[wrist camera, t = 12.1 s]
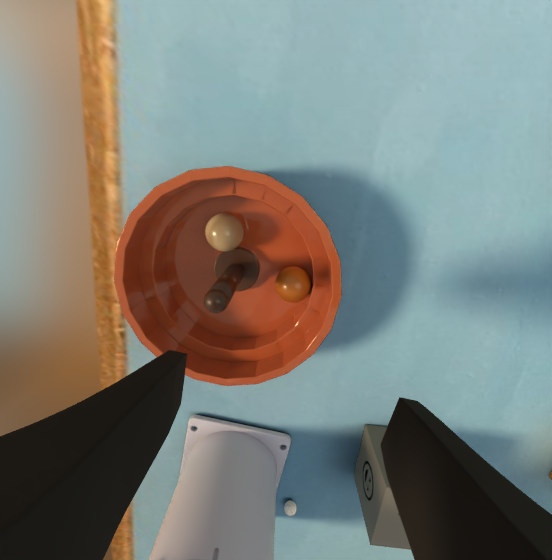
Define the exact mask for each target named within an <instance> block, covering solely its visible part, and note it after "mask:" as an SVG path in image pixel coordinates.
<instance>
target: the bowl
mask: <svg viewBox="0 0 552 560" xmlns="http://www.w3.org/2000/svg"><path fill="white" fill-rule="evenodd" d="M221 213H227V214H231V215H233V216H235V217H236V218H237V219H238V220H239V221H240V222H241V224H242V226H243V230H244V236H243V240H242V242H241V243H240V245H239V246H238V247H243V248H246V249H248V250H250V251H251V252H252V253H253V254H254V255H255V256H256V258H257V260H258V262H259V266H260V272H259V276H258V279H257V281H256V282H255V284H254V285H253V286H252V287H250V288H249V289H247V290H244V291H235V293H234V295H233V297H232V299H231V301H230V302H229V304H228V306H227V308H226V309H225V310H224V311H222V312H220V313H212V312H210V311H209V310H207V309H206V307H205V305H204V297H205V295H206V293H207V292H208V291H209V289H210V288H211V287H212V286H213V285H214V283H215V282H216V281H217V278H216V276H215V271H214V266H215V262H216V260H217V258H218V256H219V255H220V254H221V253H222V252H223V251H219V250H216V249H215V248H213V247H212V246H211V245H210V244H209V243H208V241H207V239H206V235H205V229H206V225H207V223H208V221H209V220H210V219H211V218H212V217H213V216H215V215H217V214H221ZM287 267H299V268H301V269H303V270H305V271H306V272H307V273H308V275H309V277H310V279H311V290H310V293H309V294H308V296H307V297H306V298H305V299H303V300H302V301H300V302H296V303H291V302H287V301H285V300H283V299H282V298H281V297H280V296H279V295H278V294H277V292H276V288H275V281H276V278H277V276H278V274H279V273H280V272H281V271H282V270H283V269H285V268H287ZM114 282H115V286H116V290H117V294H118V297H119V301H120V305H121V309H122V312H123V315H124V316H125V318H126V320H127V321H128V323H129V324H130V326H131V328H132V329H133V331H134V333H135V334H136V336H137V337H138V339H139V341H141V343H142V344H143V345H144V346H145V347H147V348H148V349H149V350H150V351H151V352H152V353H153V354H154V355H155V356H156V357H158V356H160V355H162V354H163V353H165V352H167V351H168V350H173V351H178V352H182V353H187V362H186V369H185V375H187V376H189V377H191V378H193V379H196V380H200V381H205V382H210V383H214V384H219V385H224V386H225V385H226V386H232V385H250V384H259V383H262V382H265V381H267V380H270V379H273V378H276V377H279V376H282V375H285V374H287V373H289V372H290V371H291V370H293V369H294V368H295V367H297V366H298V365H300V364H301V363H302V362H304V361H305V360H306V359H308V358H309V357H310V356H312V355H313V354H314V353H315V351H316V350H317V348H318V347H319V346H320V344H321V343H322V341H323V340H324V339H325V337H326V336H327V334H328V333H329V332H330V330H331V328H332V326H333V323H334V320H335V317H336V313H337V310H338V307H339V304H340V300H341V296H342V290H341V262H340V258H339V256H338V253H337V251H336V248H335V245H334V243H333V240H332V237H331V235H330V232H329V230H328V227H327V225H326V224H325V223H324V222H323V221H322V219H321V218H320V217H319V216H318V215H317V213H316V212H315V211H314V210H313V209H312V207H311V206H310V205H309V204H308V202H307V201H306V200H305V199H304V198H303V197H302V196H301V195H299V194H298V193H296V192H295V191H293V190H291V189H290V188H288V187H287V186H285V185H283V184H282V183H280V182H279V181H277V180H275V179H274V178H272V177H271V176H268V175H266V174H261V173H257V172H253V171H249V170H244V169H240V168H236V167H232V166H223V167H214V168H204V169H195V170H190V171H187V172H185V173H183V174H181V175H179V176H176V177H174V178H172V179H170V180H168V181H166V182H164V183H162V184H160V185H158V186H156V187H155V188H154V189H153V190H152V191H151V192H150V193H149V194H148V195H147V196H146V197H145V198H144V199H143V200H142V201H141V202H140V203H139V204H138V206H137V207H136V208H135V209H134V210H133V211H132V212H131V214H130V215H129V217H128V220H127V222H126V224H125V227H124V229H123V231H122V234H121V236H120V238H119V241H118V243H117V246H116V258H115V273H114Z"/></svg>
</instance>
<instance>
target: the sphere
mask: <svg viewBox="0 0 552 560" xmlns="http://www.w3.org/2000/svg"><path fill="white" fill-rule="evenodd" d="M296 509H297V507H296V504H295V503H294V502H293V501H291V500H290V501H287V502H286V503H285V506H284V510H285V513H286V514H287V515H289V516H292V515H294V514H295V513H296Z"/></svg>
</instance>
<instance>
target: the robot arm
mask: <svg viewBox="0 0 552 560" xmlns="http://www.w3.org/2000/svg"><path fill="white" fill-rule="evenodd" d="M186 362H187V353H182V352H178V351H173V350H168V351H167V352H165V353H163V354H162V355H160V356H158V357H157V358H155V359H154V360H152V361H150V362H149V363H147V364H146V365H144V366H143V367H141V368H139V369H138V370H136V371H135V372H133V373H131V374H130V375H128V376H126V377H125V378H123V379H121V380H120V381H118V382H116V383H114V384H113V385H111V386H109V387H107V388H105V389H103V390H102V391H100V392H98V393H96V394H94V395H93V396H91V397H89V398H87V399H85V400H83V401H81V402H79V403H77V404H75V405H73V406H71V407H69V408H67V409H65V410H63V411H60V412H58V413H56V414H54V415H52V416H49V417H48V418H45V419H43V420H40V421H38V422H36V423H33V424H31V425H29V426H26V427H24V428H21V429H18V430H16V431H13V432H11V433H8V434H5V435H3V436H0V560H103V558H104V556H105V554H106V552H107V550H108V547H109V545H110V543H111V541H112V539H113V536H114V534H115V532H116V530H117V528H118V526H119V524H120V522H121V520H122V518H123V516H124V514H125V512H126V510H127V508H128V506H129V504H130V502H131V501H132V499H133V497H134V495H135V493H136V492H137V490H138V488H139V486H140V484H141V483H142V481H143V479H144V477H145V475H146V474H147V472H148V470H149V468H150V466H151V465H152V463H153V461H154V459H155V457H156V456H157V454H158V452H159V450H160V448H161V446H162V445H163V443H164V441H165V439H166V437H167V435H168V433H169V431H170V429H171V426H172V424H173V422H174V419H175V417H176V414H177V412H178V410H179V407H180V405H181V399H182V391H183V384H184V376H185V369H186ZM193 426H196V427H197V428H195V427H193ZM290 444H291V437H290V436H289V435H288V434H285V433H280V432H275V431H271V430H266V429H261V428H257V427H252V426H247V425H242V424H238V423H233V422H228V421H223V420H219V419H214V418H209V417H205V416H200V415H193V416H191V418H190V420H189V423H188V429H187V435H186V441H185V447H184V453H183V459H182V465H181V471H180V477H179V481H178V484H177V486H176V489H175V492H174V494H173V497H172V500H171V502H170V505H169V507H168V510H167V513H166V515H165V518H164V521H163V523H162V526H161V529H160V531H159V534H158V536H157V539H156V542H155V544H154V547H153V550H152V552H151V555H150V558H149V560H273V558H274V532H275V507H276V491H277V488H278V484H279V481H280V478H281V474H282V471H283V468H284V464H285V461H286V458H287V454H288V451H289V448H290ZM282 445H285V446H282ZM380 445H381V451H382V456H383V461H384V466H385V470H386V475H387V479H388V482H389V485H390V488H391V491H392V494H393V497H394V500H395V503H396V506H397V509H398V512H399V515H400V518H401V521H402V524H403V527H404V530H405V533H406V536H407V539H408V541H409V544H410V547H411V550H412V553H413V556H414V559H415V560H552V515H551V514H550V513H549V512H547V511H546V510H545V509H543V508H542V507H541V506H539V505H538V504H537V503H536V502H534V501H533V500H532V499H531V498H529V497H528V496H527V495H526V494H524V493H523V492H522V491H521V490H519V489H518V488H517V487H516V486H515V485H513V484H512V483H511V482H510V481H509V480H507V479H506V478H505V477H504V476H503V475H501V474H500V473H499V472H498V471H497V470H496V469H494V468H493V467H492V466H491V465H490V464H489V463H487V462H486V461H485V460H484V459H483V458H482V457H481V456H479V455H478V454H477V453H476V452H475V451H474V450H473V449H472V448H470V447H469V446H468V445H467V444H466V443H465V442H464V441H463V440H462V439H460V438H459V437H458V436H457V435H456V434H455V433H454V432H453V431H452V430H450V429H449V428H448V427H447V426H446V425H445V424H444V423H443V422H442V421H440V420H439V419H438V418H437V417H436V416H435V415H434V414H433V413H431V412H430V411H429V410H428V409H427V408H426V407H424V406H423V405H422V404H420V403H419V402H418V401H415V400H410V399H405V398H400V397H399V400H398V402H397V405H396V407H395V410H394V412H393V415H392V417H391V420H390V422H389V424H388V427H387V429H386V432H385V434H384V437H383V439H382V442H381V444H380Z"/></svg>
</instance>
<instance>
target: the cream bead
mask: <svg viewBox="0 0 552 560" xmlns="http://www.w3.org/2000/svg"><path fill="white" fill-rule="evenodd" d="M205 235H206V239H207V241H208V243H209V244H210V245H211V246H212V247H213V248H215V249H216V250H219V251H224V252H226V251H231V250H234V249H235V248H237V247H238V246H239V245H240V243H241V242H242V240H243V236H244V230H243V226H242V224H241V222H240V221H239V220H238V219H237V218H236V217H235V216H233V215H231V214H227V213H221V214H217V215H215V216H213V217H212V218H211V219H210V220H209V221H208V223H207V225H206V229H205Z"/></svg>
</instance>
